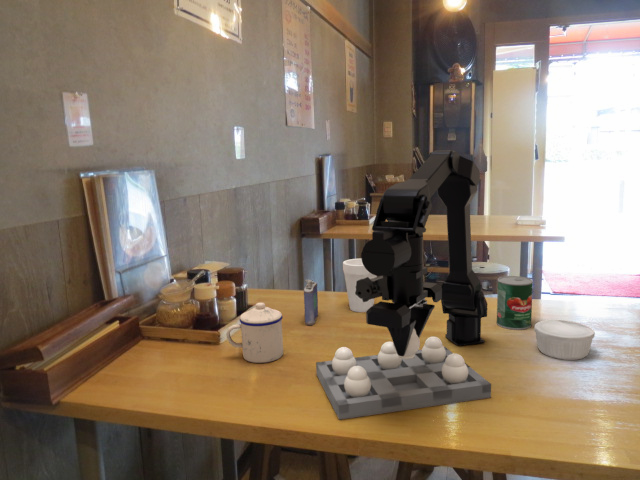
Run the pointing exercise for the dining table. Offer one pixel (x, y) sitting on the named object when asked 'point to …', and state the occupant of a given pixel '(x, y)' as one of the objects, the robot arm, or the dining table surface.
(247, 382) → the dining table surface
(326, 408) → the dining table surface
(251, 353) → the teacup with lid
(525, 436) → the dining table surface
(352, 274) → the foam cup
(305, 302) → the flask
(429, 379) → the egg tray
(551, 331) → the ramekin
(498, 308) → the canned tomato
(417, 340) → the cream game piece
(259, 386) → the dining table surface
